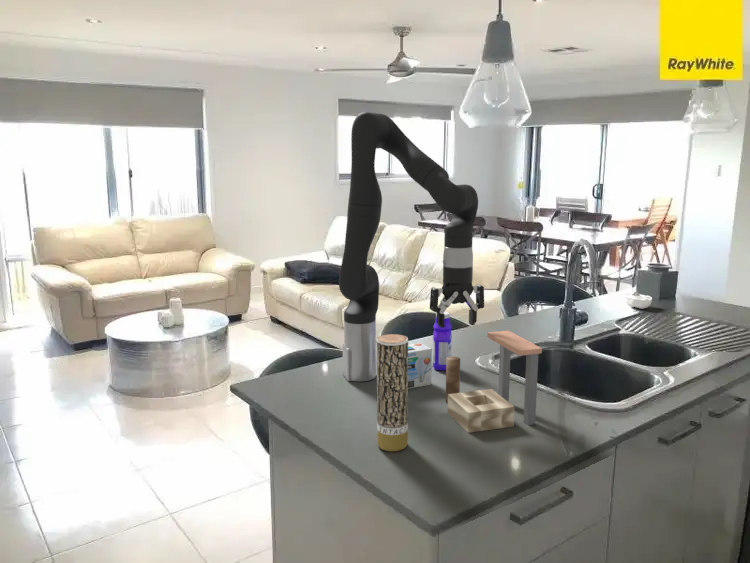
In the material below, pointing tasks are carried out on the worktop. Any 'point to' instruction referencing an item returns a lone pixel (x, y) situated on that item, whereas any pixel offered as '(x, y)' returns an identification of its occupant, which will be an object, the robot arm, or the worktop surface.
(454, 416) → the socket
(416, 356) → the light bulb box
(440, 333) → the bottle
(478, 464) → the worktop surface
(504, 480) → the worktop surface
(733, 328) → the worktop surface
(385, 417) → the paper tube
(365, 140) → the robot arm
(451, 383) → the peg
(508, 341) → the wooden top bench
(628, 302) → the cell model
